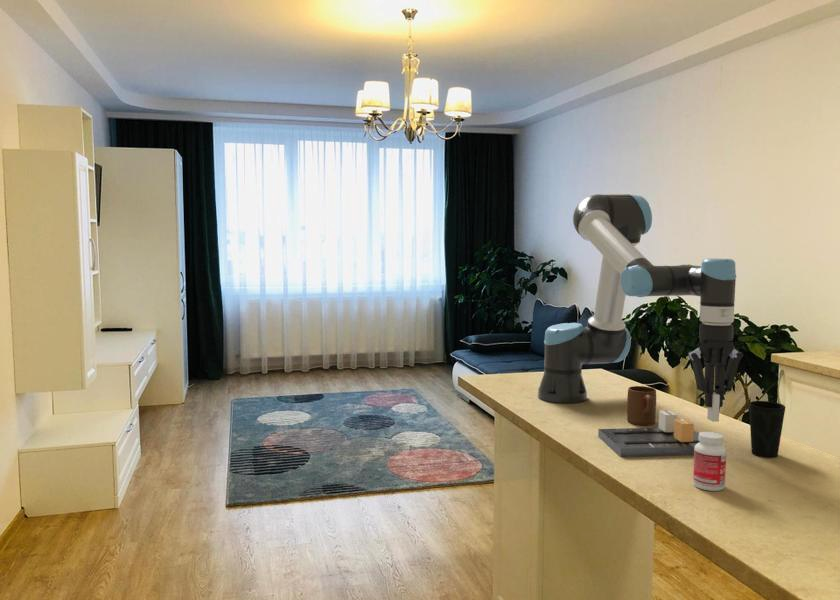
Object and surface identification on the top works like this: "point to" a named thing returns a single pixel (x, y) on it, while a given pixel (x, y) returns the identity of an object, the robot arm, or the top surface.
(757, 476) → the top surface
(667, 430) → the fader
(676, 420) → the fader
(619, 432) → the console
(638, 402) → the mug
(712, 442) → the pill bottle
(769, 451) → the cup
